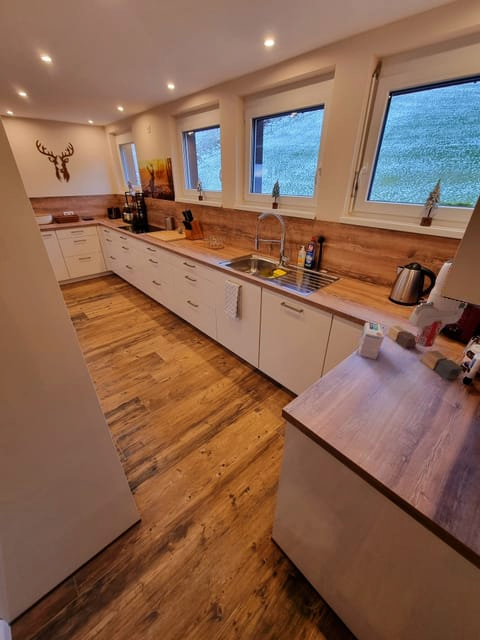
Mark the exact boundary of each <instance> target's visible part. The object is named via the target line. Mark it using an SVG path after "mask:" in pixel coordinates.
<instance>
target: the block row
mask: <svg viewBox="0 0 480 640" xmlns="http://www.w3.org/2000/svg"><path fill="white" fill-rule="evenodd" d="M416 336H417V335H415V334H413V333H412V332H410V331H409V330H407V329H406V328H404V327H402V326H401V325H393V326H392V325H390V326H389V330H388V333H387V337H389V338H390V339H392V340H393V341H394V342H396V343H397V344H398V345H400V346H401V347H402V348H403V349H405V350H406V349H415V348H416V346H417V343H416V342H415V338H416ZM422 363H424V364H425V365H426V366H427V367H429V368H430V369H431V370H434V372H435V373H437V374H438V375H439V376H441V377H442V378H443V379H445V380H446V381H448V380H455V379H458V378H459V377H460V374H461V373H462V371H463V369H464V367H463V366H461V365H459V364H458V363H456V362H455V361H454V360H452V359H449V357H447V356H446V355H444V354H443V353H442V352H440V351H439V350H429V351H426V352H425V354H424V356H423V358H422Z"/></svg>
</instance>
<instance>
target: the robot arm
mask: <svg viewBox="0 0 480 640" xmlns="http://www.w3.org/2000/svg"><path fill="white" fill-rule="evenodd" d="M453 259H454V258H450V259H448V260H447V261H445V262H444V263H443V265H442V267H441V268H440V270H439V272H438V275H437V276H436V279H435V283H434V286H433V288H432V289H431V291H430V294H429V295H428V297H427V300H426V302H421V303H420V304H418V305H417V306H416V307H415V308H414V309H413V311H412V313H411V315H410V316H409V319H408V323H409V324H410V325H411V326H413V327H414V328H417V331H416V335H417V334H419V335H423V334H424V332H425V331H423V328H425V326H431V325H432V324H433V323H434V322H435V321H441V320H442V326H441V328H440V330H439V333H440V332H441V330H443V328H445V327H446V325H452V324H456V323H458V322H459V320H460V319H461V317H462V315H463V314H464V311H465V309H467V306H468V303H467V302H466V303H464V302H465V301H464V302H460V301H456V300H452V299H448V298H444V297H441V296H440V292H441V289H442V287H443V284H444V281H445V279H446V276H447V274H448V271H449V268H450V266H451V264H452V261H453ZM473 306H474V307H475V308H477V309H479V310H480V306H477V305H473Z"/></svg>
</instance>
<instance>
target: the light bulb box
mask: <svg viewBox="0 0 480 640" xmlns="http://www.w3.org/2000/svg"><path fill="white" fill-rule="evenodd" d="M384 334H385V333H384V327H383V325H382V324H378V323H374V322H373V323H372V322H367V321H365V323H364V326H363V329H362V333H361V336H360V339H359V342H358V356H361V357H365V358H368V359H373V360H377V357H378V354H379V351H380V349H381V347H382V343H383V341H384V338H385V335H384Z"/></svg>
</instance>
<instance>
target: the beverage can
mask: <svg viewBox="0 0 480 640" xmlns="http://www.w3.org/2000/svg"><path fill="white" fill-rule="evenodd" d="M441 326H442V320H441V321H435V322H434V323H433V324H432V325H431V326H425V328H423V331H425V332H424V334H423V335H419V334H417V333H416V335H415V336H416V338H415V342H416V345H418V346H420V347H423V348H429V347H430V348H432V347H433V346H434V343H435V341H436V339H437V337H438V335H439V333H440V332H439V330H440V328H441ZM440 331H441V330H440Z"/></svg>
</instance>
